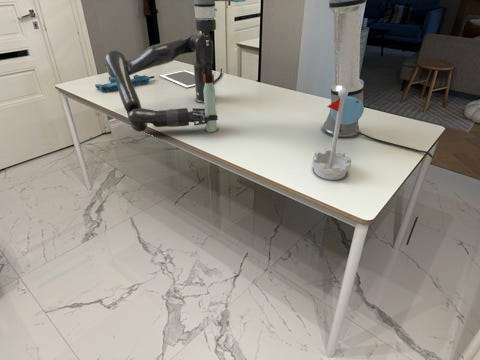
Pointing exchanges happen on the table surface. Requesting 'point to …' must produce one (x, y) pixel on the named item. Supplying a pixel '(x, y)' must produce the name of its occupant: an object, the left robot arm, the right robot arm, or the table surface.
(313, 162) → the flag stand
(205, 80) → the cap
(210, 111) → the bottle
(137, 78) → the submachine gun
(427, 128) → the table surface
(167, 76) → the tablet
